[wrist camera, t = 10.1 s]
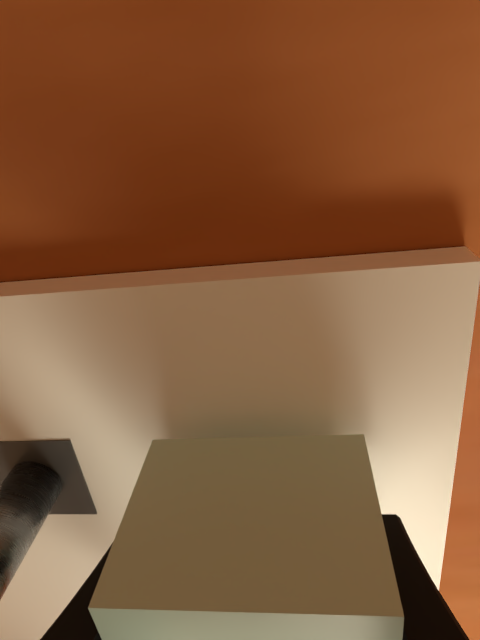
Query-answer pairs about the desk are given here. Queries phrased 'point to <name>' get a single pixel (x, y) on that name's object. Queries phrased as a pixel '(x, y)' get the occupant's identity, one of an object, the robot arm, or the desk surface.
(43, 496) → the t key
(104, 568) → the pale mint cube
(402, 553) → the robot arm
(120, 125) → the desk surface
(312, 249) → the desk surface
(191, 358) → the base plate
